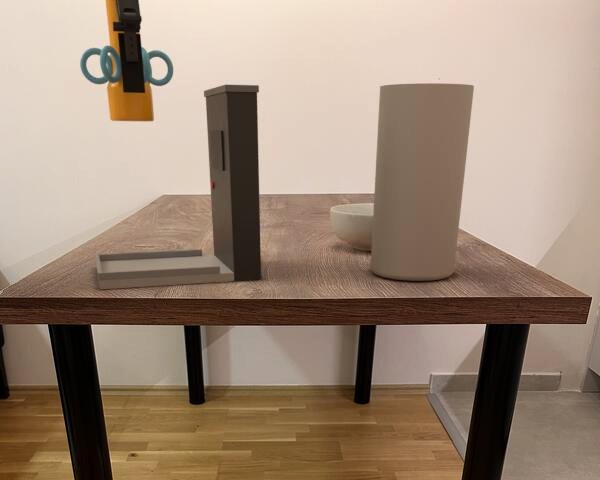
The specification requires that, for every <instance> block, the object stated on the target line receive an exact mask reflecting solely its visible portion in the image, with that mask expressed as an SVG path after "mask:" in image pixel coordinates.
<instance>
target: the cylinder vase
mask: <svg viewBox="0 0 600 480" xmlns="http://www.w3.org/2000/svg"><path fill="white" fill-rule="evenodd" d="M474 91H475V85H473V84H466V83H465V84H464V83H439V82H438V83H437V82H436V83H435V82H434V83H431V82H429V83H427V82H426V83H398V84H397V83H396V84H395V83H394V84H384V85H380V86H379V96H378V97H379V99H378V100H379V101H378V118H377V119H378V120H377V135H376V136H377V139H376V141H377V142H376V154H375V155H376V156H375V176H374V195H373V203H374V212H373V231H372V250H371V251H370V253H371V254H370V270H371V272H372V273H373V274H375V275H376V276H379V277H380V278H381V277H382V278H385V279H391V280H395V281H405V282H406V281H407V282H431V281H437V280H439V281H440V280H443V279H447V278H449V277H450V276H452V275H453V273H454V272H455V264H456V255H457V248H458V247H457V246H458V238H459V227H460V219H461V210H462V202H463V201H462V200H463V192H464V183H465V171H466V164H467V156H468V155H467V154H468V146H469V137H470V135H469V134H470V129H471V128H470V126H471V120H472V119H471V117H472V109H473V100H474Z"/></svg>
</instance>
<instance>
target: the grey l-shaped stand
mask: <svg viewBox="0 0 600 480" xmlns="http://www.w3.org/2000/svg"><path fill="white" fill-rule="evenodd" d="M258 93H260V86H259V85H257V84H222V85H219V86H216V87H211V88H208V89H206V90H204V91H203V97H204V98H205V107H206V108H205V110H206V127H207V130H206V131H207V147H208V167H209V184H210V185H209V186H210V203H211V220H212V221H211V223H212V224H211V225H212V241H213V254H203V249H202V248H197V249H195V248H193V249H177V250H176V249H175V250H155V251H153V250H152V251H134V252H133V251H132V252H131V251H130V252H112V253H111V252H110V253H95V254H94V259H95V265H96V266H95V267H96V273H97V279H98V286H99V290H114V289H130V288H132V289H133V288H145V287H146V288H148V287H161V286H163V287H165V286H177V285H178V286H180V285H195V284H210V283H225V282H226V283H228V282H243V281H261V280H262V257H261V254H262V252H261V249H262V248H261V213H260V212H261V210H260V209H261V208H260V206H261V205H260V165H259V159H260V158H259V120H258V119H259V117H258V116H259V115H258Z"/></svg>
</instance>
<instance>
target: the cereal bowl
mask: <svg viewBox="0 0 600 480" xmlns="http://www.w3.org/2000/svg"><path fill="white" fill-rule="evenodd" d="M373 212H374V202H371V203H370V202H369V203H367V202H365V203H347V204H338V205H333V206H331V207H330V210H329V217H330V218H329V219H330V226H331V229H332V231H333V233H334V234H335V236H336V237H337V238H338V239H339V240H341V241H343V242H344V243H347V244H349V245H351V246H352V247H353V248H354V249H355V250H357V251H363V252H371V250H372V231H373Z"/></svg>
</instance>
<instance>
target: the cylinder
mask: <svg viewBox="0 0 600 480" xmlns="http://www.w3.org/2000/svg"><path fill="white" fill-rule="evenodd" d="M105 10H106V18H107V27H108V28H107V31H108V37H109V45H107V44H106V45H105V46H103V47H102V49H101V48H98V47H91V48H88V49H86V50H85V51H83V53H82V54H81V57H80V61H79V65H80V71H81V73H82V75H83V77H84V78H85V79H86V80H87V81H88V82H90V83H92V84H95V85H104V84H107V85H106V92H107V101H108V102H107V103H108V110H109V119H110V120H111V121H113V122H154V120H155V112H154V101H153V90H152V87H151V85H152V86H156V87H163V86H166V85H167V84H169V83H170V81H171V80H172V79H173V76H174V65H173V62H172V60H171V58H170V56H169V55H168V54H166V53H165V52H164V51H161V50H158V49H157V50H156V49H155V50H150V51H149V52H148V51H147V49H145V47H143V46H141V47H142V59H143V71H144V83H145V93H124V92H123V83H122V72H121V62H120V52H119V41H118V33H124V32H119V31H113V22H118V18H117V12H116V5H115V0H105ZM136 34H140V35H141V32H140V33H137V32H136ZM95 55H97V56H99V64H100V69H101V73H102V75H103V76H101V77H95V76H94V75H92V74H91V73H90V72H89V70H88V67H87V62H88V59H89V58H90V57H91V56H95ZM153 58H159V59H162V60H163V61H164V62H165V64H166V67H167V72H166V75H165V76H164V77H163V78H160V79H157V78H154V77H153V68H152V64H151V60H152V59H153Z"/></svg>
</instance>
